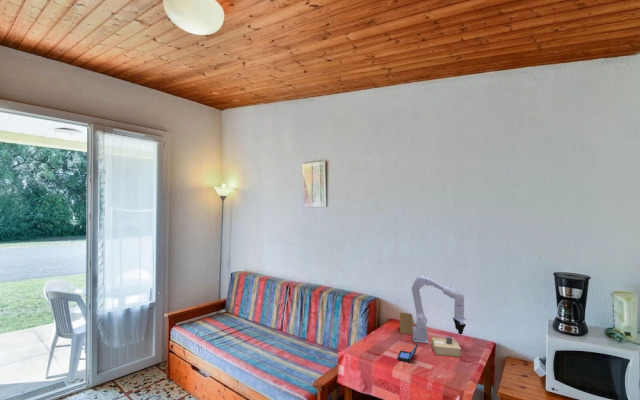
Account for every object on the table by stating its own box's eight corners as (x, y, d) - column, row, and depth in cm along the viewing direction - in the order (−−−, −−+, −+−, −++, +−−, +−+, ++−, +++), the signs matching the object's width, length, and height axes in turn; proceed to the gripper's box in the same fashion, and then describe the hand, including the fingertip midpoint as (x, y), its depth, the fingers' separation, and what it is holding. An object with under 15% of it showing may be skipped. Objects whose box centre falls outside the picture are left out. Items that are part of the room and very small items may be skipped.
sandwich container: (415, 327, 241) (416, 308, 241) (411, 335, 227) (411, 314, 228) (404, 325, 245) (404, 306, 245) (399, 332, 231) (399, 312, 232)
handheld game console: (400, 352, 201) (400, 340, 201) (418, 355, 196) (418, 343, 196) (396, 360, 189) (396, 348, 189) (415, 364, 185) (415, 351, 185)
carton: (435, 354, 197) (435, 347, 197) (431, 345, 211) (431, 338, 211) (460, 357, 194) (460, 349, 194) (455, 347, 208) (456, 340, 208)
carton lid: (435, 347, 197) (435, 340, 197) (431, 338, 211) (431, 332, 211) (460, 349, 194) (460, 343, 194) (456, 340, 208) (456, 334, 208)
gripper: (468, 315, 201) (468, 336, 201) (462, 307, 215) (462, 328, 215) (456, 314, 202) (456, 335, 202) (451, 307, 216) (451, 327, 216)
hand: (459, 331), depth 208 cm, fingers open, 7 cm apart
